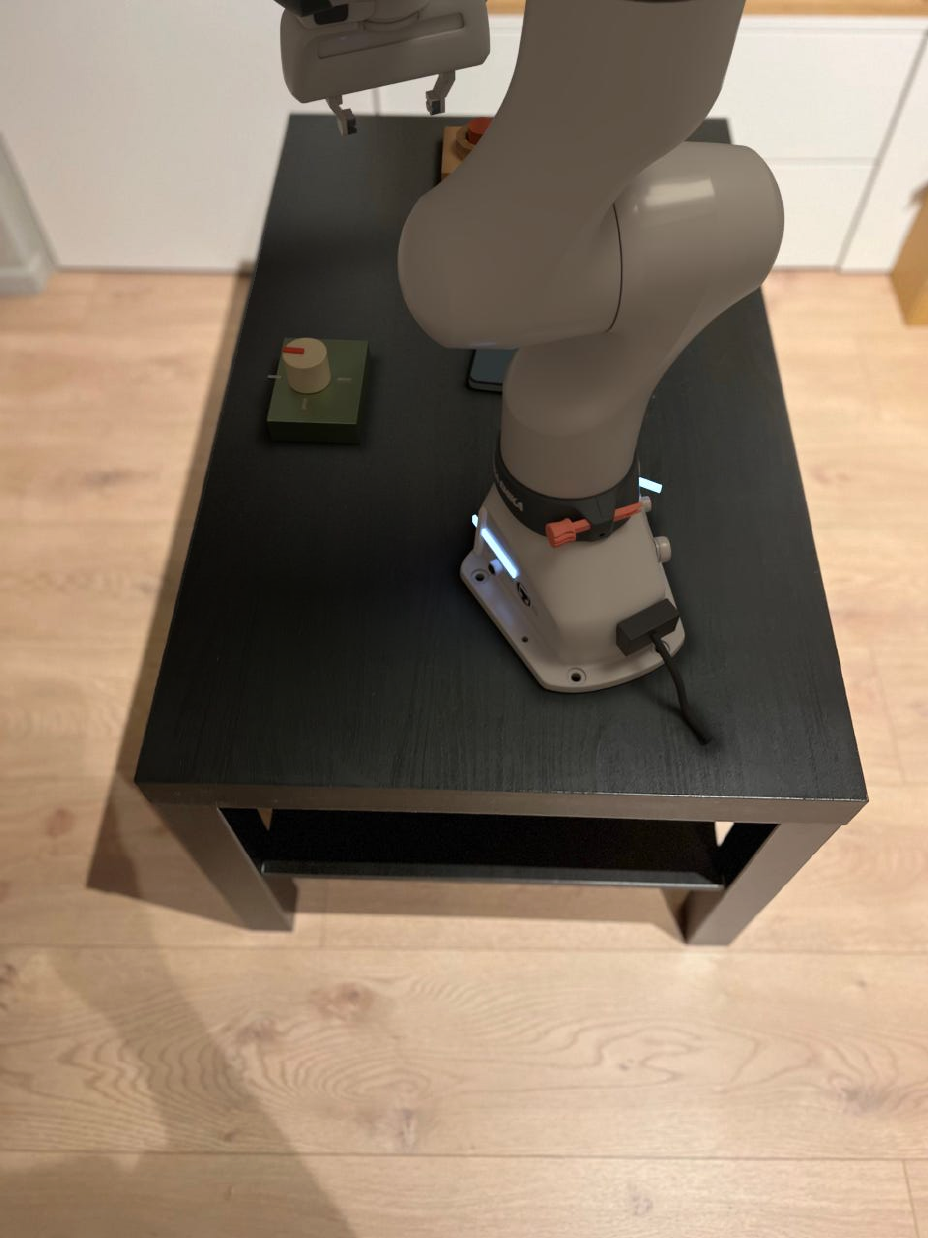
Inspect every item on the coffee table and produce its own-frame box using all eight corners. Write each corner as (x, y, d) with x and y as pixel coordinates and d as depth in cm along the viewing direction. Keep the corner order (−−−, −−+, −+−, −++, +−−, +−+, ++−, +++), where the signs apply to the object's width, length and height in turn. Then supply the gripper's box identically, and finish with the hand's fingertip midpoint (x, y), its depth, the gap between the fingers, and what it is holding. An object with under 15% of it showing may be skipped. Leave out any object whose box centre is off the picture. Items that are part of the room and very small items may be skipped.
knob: (334, 365, 102) (330, 336, 99) (325, 395, 100) (321, 367, 97) (293, 361, 102) (287, 333, 99) (283, 391, 100) (277, 363, 97)
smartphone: (478, 332, 107) (616, 345, 105) (479, 344, 109) (615, 357, 107) (466, 380, 103) (609, 395, 101) (466, 392, 105) (608, 407, 103)
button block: (521, 142, 128) (522, 113, 125) (521, 189, 123) (522, 159, 119) (444, 142, 128) (443, 112, 125) (441, 188, 123) (440, 159, 120)
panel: (359, 444, 100) (355, 422, 98) (263, 440, 101) (258, 419, 98) (371, 361, 107) (368, 338, 104) (281, 358, 107) (276, 335, 104)
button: (496, 130, 124) (497, 116, 122) (496, 147, 122) (497, 133, 120) (468, 130, 124) (468, 116, 122) (467, 146, 122) (467, 133, 120)
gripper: (477, -64, 91) (475, 83, 103) (264, -23, 87) (287, 125, 99) (503, -31, 88) (498, 116, 100) (283, 13, 84) (305, 160, 96)
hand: (392, 121), depth 100 cm, fingers open, 8 cm apart
